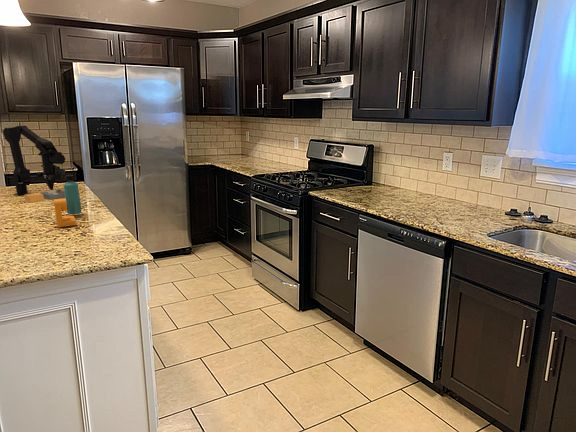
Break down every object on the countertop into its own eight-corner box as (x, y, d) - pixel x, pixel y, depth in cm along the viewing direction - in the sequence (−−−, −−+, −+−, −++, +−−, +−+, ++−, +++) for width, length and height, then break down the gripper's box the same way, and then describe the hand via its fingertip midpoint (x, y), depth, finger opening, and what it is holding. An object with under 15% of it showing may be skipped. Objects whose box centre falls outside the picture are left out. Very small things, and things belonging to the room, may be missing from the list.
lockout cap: (25, 201, 238) (24, 194, 237) (38, 199, 243) (37, 192, 242) (30, 202, 233) (29, 196, 232) (44, 200, 239) (43, 194, 238)
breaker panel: (40, 196, 249) (39, 191, 249) (61, 193, 259) (60, 188, 258) (50, 199, 241) (50, 194, 240) (72, 196, 250) (71, 191, 249)
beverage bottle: (85, 215, 208) (80, 174, 203) (73, 218, 202) (68, 176, 197) (76, 213, 210) (70, 173, 205) (64, 216, 204) (58, 175, 199)
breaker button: (48, 195, 248) (47, 190, 247) (54, 195, 250) (53, 189, 250) (50, 196, 246) (49, 190, 245) (56, 195, 248) (56, 189, 248)
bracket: (76, 226, 188) (73, 200, 185) (58, 228, 184) (54, 201, 181) (74, 221, 197) (71, 195, 194) (56, 223, 193) (53, 197, 190)
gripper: (69, 163, 244) (73, 189, 248) (55, 160, 255) (58, 186, 259) (49, 165, 235) (53, 192, 239) (35, 162, 247) (39, 188, 251)
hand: (51, 190), depth 247 cm, fingers closed, pressing on breaker button
